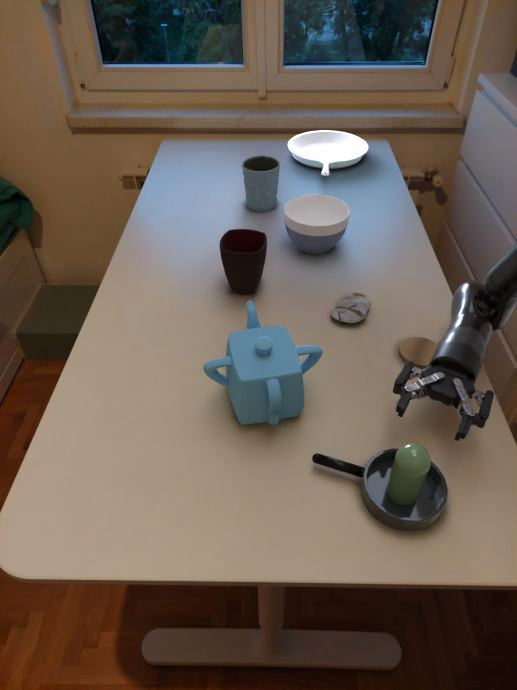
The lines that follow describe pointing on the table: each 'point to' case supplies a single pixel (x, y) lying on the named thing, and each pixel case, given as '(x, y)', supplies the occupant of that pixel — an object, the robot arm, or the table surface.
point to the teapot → (263, 371)
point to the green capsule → (408, 473)
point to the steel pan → (393, 513)
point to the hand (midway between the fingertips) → (428, 425)
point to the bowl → (316, 221)
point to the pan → (327, 149)
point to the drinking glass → (261, 182)
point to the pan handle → (338, 465)
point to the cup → (243, 258)
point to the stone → (351, 308)
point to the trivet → (417, 351)
